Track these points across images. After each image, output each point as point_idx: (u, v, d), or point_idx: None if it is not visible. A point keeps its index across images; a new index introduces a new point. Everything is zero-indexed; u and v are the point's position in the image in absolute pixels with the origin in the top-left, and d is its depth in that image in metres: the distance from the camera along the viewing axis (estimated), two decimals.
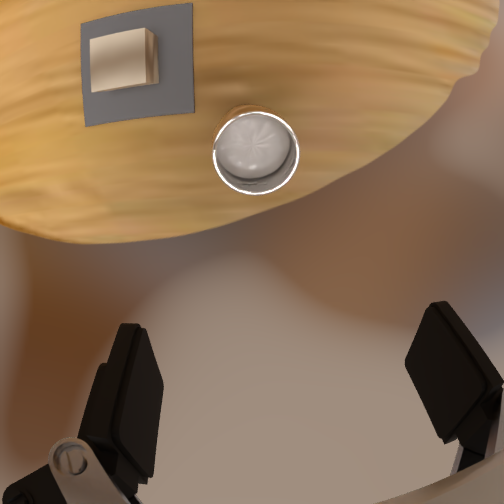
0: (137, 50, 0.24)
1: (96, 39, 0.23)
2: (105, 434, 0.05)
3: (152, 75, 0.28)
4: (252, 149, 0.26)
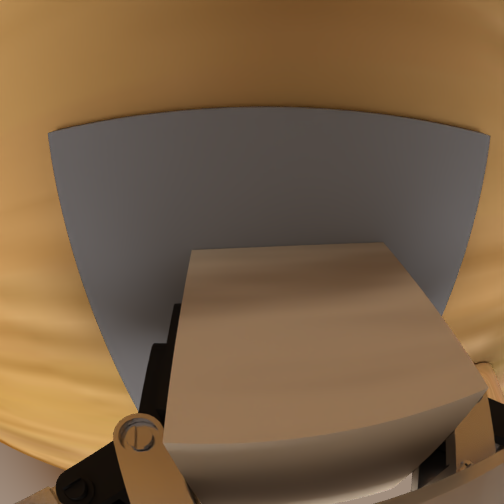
0: (416, 453, 0.05)
1: (213, 448, 0.04)
2: None
3: None
4: None
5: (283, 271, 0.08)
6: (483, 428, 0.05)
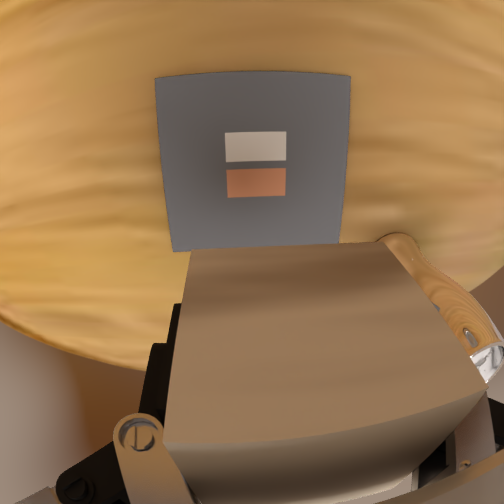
0: (416, 453, 0.05)
1: (213, 447, 0.04)
2: None
3: None
4: None
5: (283, 270, 0.08)
6: (483, 428, 0.05)
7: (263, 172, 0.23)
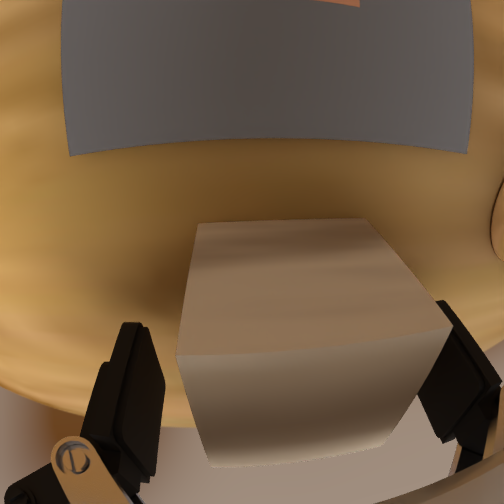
0: (396, 395, 0.07)
1: (217, 361, 0.06)
2: (108, 432, 0.05)
3: None
4: None
5: (276, 236, 0.10)
6: None
7: None
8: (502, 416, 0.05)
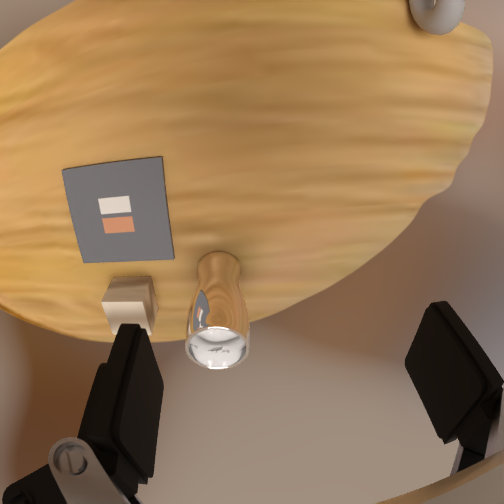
0: (140, 315, 0.40)
1: (106, 302, 0.38)
2: (105, 434, 0.05)
3: (153, 316, 0.44)
4: None
5: (126, 281, 0.42)
6: None
7: (120, 219, 0.38)
8: None
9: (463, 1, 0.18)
